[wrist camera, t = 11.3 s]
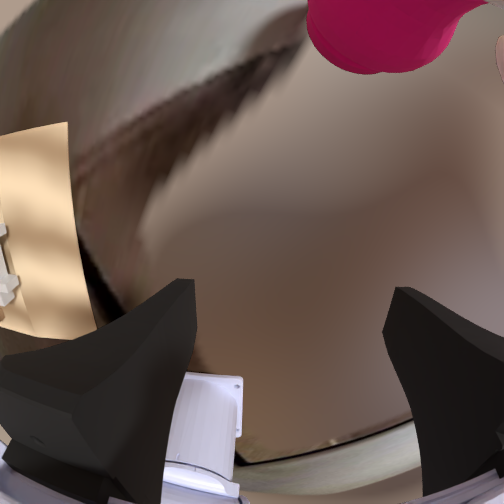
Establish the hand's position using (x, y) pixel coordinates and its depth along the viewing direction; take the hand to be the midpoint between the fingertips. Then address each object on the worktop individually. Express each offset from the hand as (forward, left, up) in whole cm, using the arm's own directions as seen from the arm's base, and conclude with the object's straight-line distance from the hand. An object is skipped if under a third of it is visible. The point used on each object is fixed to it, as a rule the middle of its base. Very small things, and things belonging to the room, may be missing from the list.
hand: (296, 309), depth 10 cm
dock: (-2, +24, -10) cm, 26 cm away
